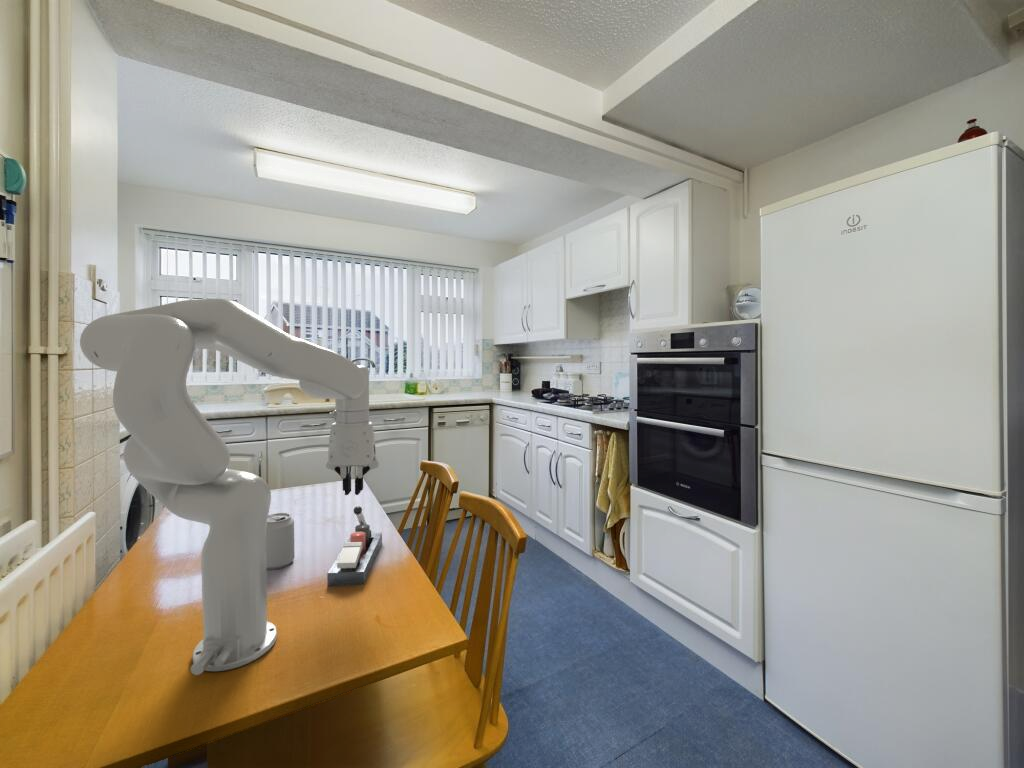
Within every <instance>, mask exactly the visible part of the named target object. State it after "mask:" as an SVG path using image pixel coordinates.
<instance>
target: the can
mask: <svg viewBox="0 0 1024 768" xmlns="http://www.w3.org/2000/svg"><path fill="white" fill-rule="evenodd" d="M294 559H295V520H294V519H293V518H292V515H291V514H290V513H288V512H275V513H271V514H268V518H267V525H266V570H276V569H278V570H279V569H282V568H284V567H286V566H288V565H290V564H291V562H292V561H294Z"/></svg>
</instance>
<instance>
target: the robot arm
mask: <svg viewBox="0 0 1024 768" xmlns="http://www.w3.org/2000/svg"><path fill="white" fill-rule="evenodd" d="M79 346H80V349H81V352H82V353H83V355H84V357H85V358H86V359H87V360H88V361H89V362H90V363H91V364H93V365H95V366H96V367H98V368H100V369H103V370H107V371H110V372H116V374H115V379H114V384H113V391H112V403H113V410H114V413H115V415H116V418H117V419H118V421H119V423H121V425H122V426H123V427H124V429H125V430H126V431H127V433H129V434H130V436H129V437H128V439H127V441H126V443H125V445H124V449H123V460H124V461H123V462H124V464H125V466H126V469H127V470H128V472H129V473H130V475H131V476H132V477H133V478H134V479H135V480H136V481H137V482H138V483H139V484H140V485H141V486H142V487H143V488H144V489H145V490H146V491H148V493H149V494H151V495H152V496H153V498H155V499H156V501H158V502H159V503H160V504H161V505H162V506H163V507H164V508H166V510H168V511H169V512H171V514H173V515H175V516H177V517H179V518H181V519H184V520H186V521H187V520H188V521H190V522H191V521H192V522H196V523H201V524H205V525H208V526H209V530H208V534H207V537H206V538H205V541H204V543H203V546H202V548H201V549H202V550H201V553H200V554H201V556H200V557H201V558H200V568H201V592H202V593H201V595H202V596H201V597H202V629H203V631H202V632H203V635H202V636H203V639H201V640H200V641H199V642H198V644H196V646H195V648H194V649H193V652H192V662H193V664H192V665H191V666H190V672H191V674H193V675H194V676H199V675H202V673H203V672H204V671H206V672H222V671H223V672H225V671H229V670H233V669H235V668H240V667H243V666H245V665H247V664H250V663H252V662H253V661H255V660H257V659H259V658H260V657H261V656H263V655H265V654H266V653H267V652H268V651H270V649H271V648H272V647H273V646H274V644H275V643H276V641H277V637H278V629H277V626H276V625H275V624H273V623H272V622H270V621H268V611H267V610H268V603H267V601H268V600H267V599H268V597H267V595H268V594H267V568H266V525H267V518H268V515H269V512H270V509H271V508H270V507H271V504H272V503H271V502H272V492H271V489H270V486H269V484H268V483H267V482H266V481H265V479H264V478H262V477H261V476H259V475H257V474H255V473H252V472H248V471H242V470H236V469H232V468H231V469H230V468H229V465H230V462H231V455H230V450H229V448H228V445H227V444H226V442H225V441H224V439H223V438H222V437H221V436H220V434H219V433H218V431H216V430H215V428H214V427H213V426H212V425H211V423H210V422H209V421H208V420H207V419H206V418H205V416H204V415H203V414H202V413H201V412H200V410H199V409H198V407H197V406H196V405H195V403H194V402H193V400H192V398H191V397H190V395H189V392H188V390H187V377H188V373H189V370H190V367H191V364H192V362H193V359H194V357H195V351H196V350H214V351H217V352H219V353H222V354H225V355H227V356H229V357H230V358H232V359H235V360H237V361H239V362H241V363H243V364H244V365H248V366H249V367H252V368H254V369H255V370H258V371H259V372H262V373H264V374H266V375H270V376H273V377H277V378H281V379H287V380H296V381H298V382H299V387H300V388H299V389H300V390H301V391H302V392H303V393H304V394H305V395H306V396H308V397H309V398H310V397H311V398H315V399H324V400H334V401H335V410H334V411H331V412H329V415H328V418H329V419H333V420H334V423H331V427H330V432H329V439H328V453H327V454H328V455H327V463H326V465H325V467H326V469H329V470H332V471H334V472H335V473H337V474H338V476H340V478H341V479H342V491H343V492H344V496H348V495H349V494H350V493H351V492H352V476H351V474H350V469H349V468H350V467H356V477H355V478H354V494H355V496H359V495H360V494H361V492H362V491H363V490H364V476H365V475H366V474H367V473H368V472H369V471H372V470H374V469H377V468H378V467H379V466H380V463H379V461H378V459H377V455H376V453H377V452H376V438H375V430H374V425H373V422H371V421H370V370H369V369H368V367H366V366H365V365H357V364H356V363H354V362H353V361H352V360H350V359H349V358H347V357H345V356H343V355H341V354H340V353H338V352H336V351H333V350H331V349H329V348H325V347H323V346H320V345H319V344H318V345H317V344H315V343H312V342H310V341H307V340H304V339H302V338H298V337H296V336H293V335H290V334H289V333H287V332H285V331H283V330H282V329H281V328H279V327H277V326H275V325H273V324H272V323H270V322H269V321H268V320H265V319H264V318H263V317H262V316H259V315H258V314H256V313H254V312H253V311H251V310H249V309H248V308H246V307H244V306H243V305H241V304H239V303H238V302H235V301H234V300H233V301H232V300H229V299H226V298H201V299H187V300H181V301H175V302H169V303H166V304H165V303H164V304H161V305H155V306H151V307H145V308H140V309H139V308H138V309H135V310H130V311H129V310H128V311H124V312H118V313H114V314H107V315H104V316H100V317H99V318H96V319H94V320H92V321H90V323H89V324H87V325H86V326H85V327H84V328H83V330H82V332H81V334H80V338H79Z"/></svg>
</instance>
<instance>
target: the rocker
mask: <svg viewBox="0 0 1024 768" xmlns="http://www.w3.org/2000/svg"><path fill="white" fill-rule="evenodd" d="M361 550H362V542H350V543H347V542H344V544H343V548H342V549H341V551H342V552H341V551H340V552H341V554H340V553H339V554H340V557H339V559H338V562H337V568H338V569H339V568H356V566H357V563H358V559H359V556H360V553H361Z"/></svg>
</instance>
